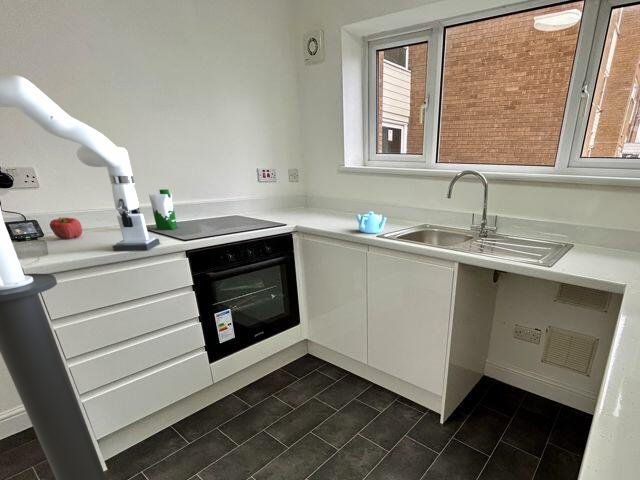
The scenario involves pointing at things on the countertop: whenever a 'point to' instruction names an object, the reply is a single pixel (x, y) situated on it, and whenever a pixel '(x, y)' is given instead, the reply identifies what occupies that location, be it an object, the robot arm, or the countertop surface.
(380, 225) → the teapot
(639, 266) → the countertop surface
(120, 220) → the small box
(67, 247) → the countertop surface
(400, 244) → the countertop surface
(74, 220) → the vegetable
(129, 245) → the scale
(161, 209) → the milk carton
